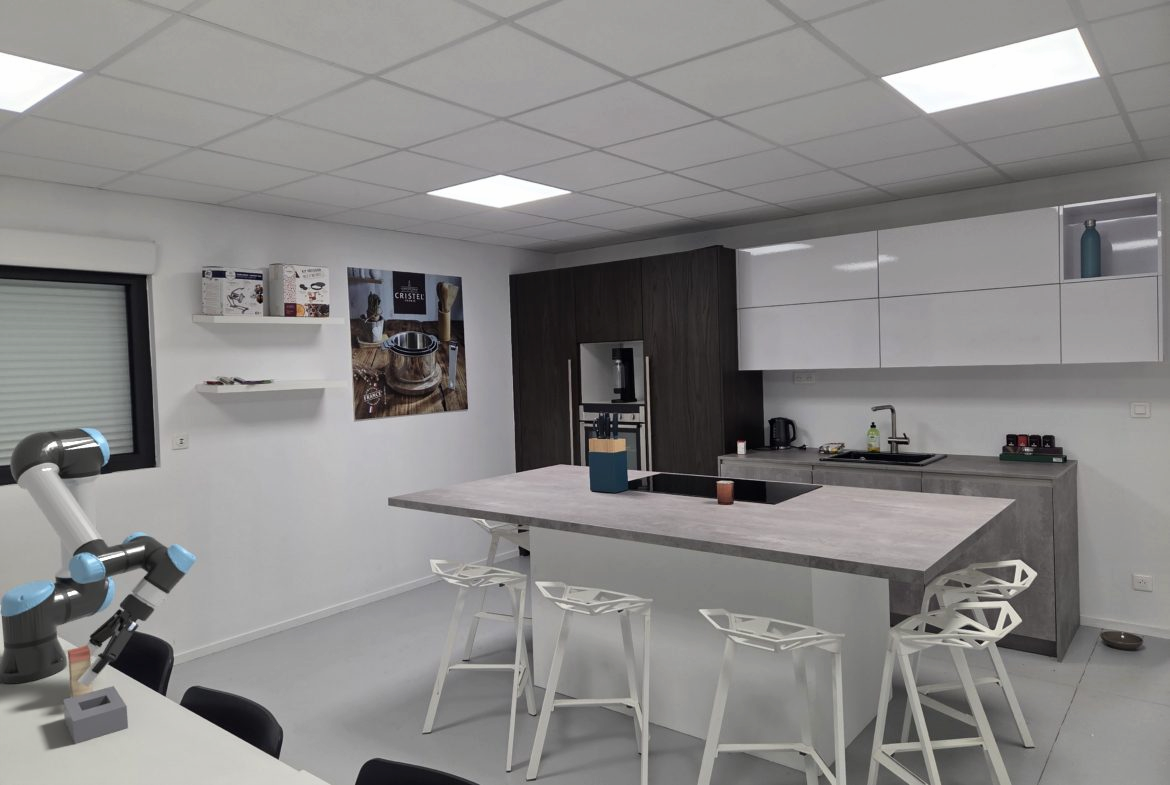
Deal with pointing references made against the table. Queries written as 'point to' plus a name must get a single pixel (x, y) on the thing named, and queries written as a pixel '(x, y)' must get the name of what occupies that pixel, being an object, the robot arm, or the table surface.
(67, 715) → the socket block
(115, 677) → the table surface
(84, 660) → the plug peg
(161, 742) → the table surface
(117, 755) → the table surface
